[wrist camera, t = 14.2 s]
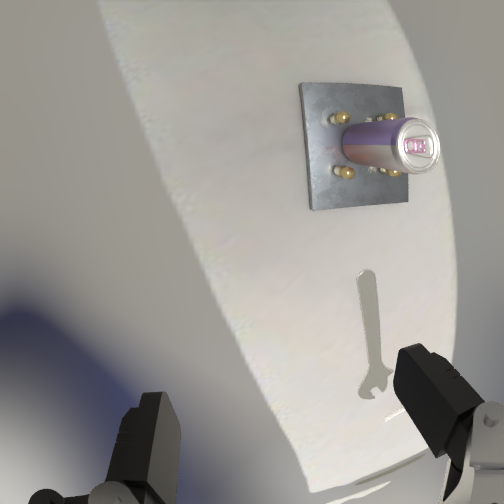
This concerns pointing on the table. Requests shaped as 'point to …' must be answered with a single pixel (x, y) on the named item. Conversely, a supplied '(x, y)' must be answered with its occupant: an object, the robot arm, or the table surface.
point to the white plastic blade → (394, 413)
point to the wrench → (371, 335)
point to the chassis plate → (331, 148)
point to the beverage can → (393, 145)
